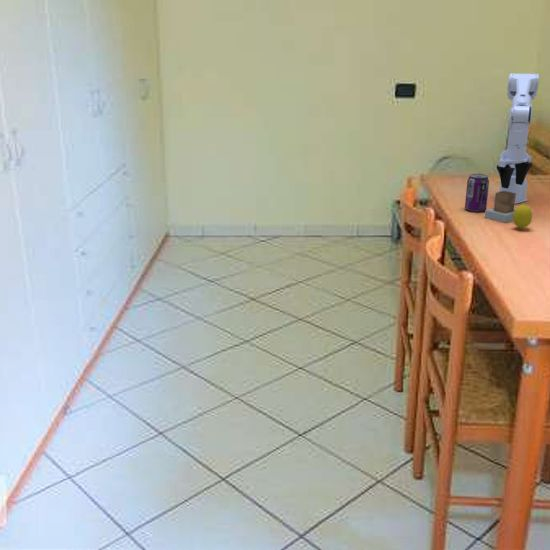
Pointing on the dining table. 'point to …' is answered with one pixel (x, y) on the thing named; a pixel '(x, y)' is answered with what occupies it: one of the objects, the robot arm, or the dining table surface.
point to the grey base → (499, 215)
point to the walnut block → (504, 202)
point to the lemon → (522, 216)
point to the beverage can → (477, 192)
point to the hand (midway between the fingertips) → (512, 186)
